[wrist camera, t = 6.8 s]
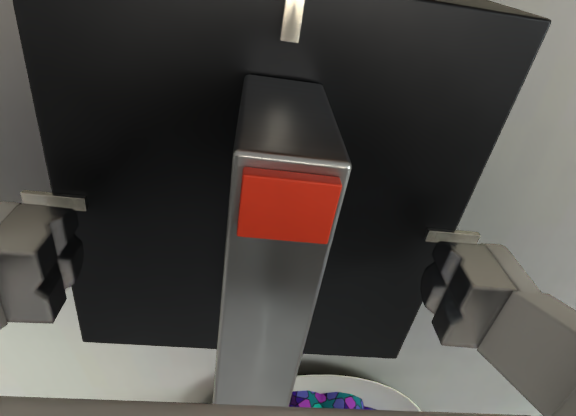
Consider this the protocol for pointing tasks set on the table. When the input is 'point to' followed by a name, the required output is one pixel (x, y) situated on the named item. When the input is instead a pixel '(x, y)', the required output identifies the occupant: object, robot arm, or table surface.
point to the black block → (221, 136)
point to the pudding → (347, 394)
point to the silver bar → (276, 236)
